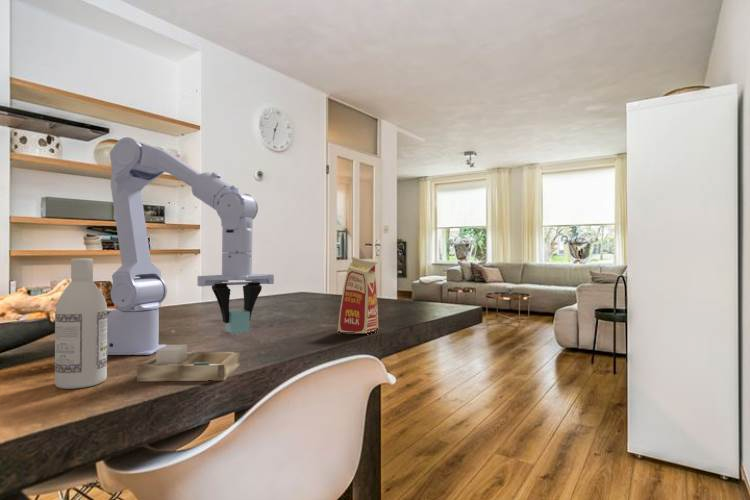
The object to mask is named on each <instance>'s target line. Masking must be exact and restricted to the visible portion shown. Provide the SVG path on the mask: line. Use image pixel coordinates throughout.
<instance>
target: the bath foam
mask: <svg viewBox="0 0 750 500" xmlns="http://www.w3.org/2000/svg"><path fill="white" fill-rule="evenodd" d="M70 262H71V263H70V282H69V283H68V284H67V286H66V288H65V289H64V290H63V292H62V293H61V295H60V296H59V299H58V300H57V303H56V306H55V313H54V314H55V315H54V385H55V386H56V388H59V389H61V390H62V389H63V390H77V389H84V388H89V387H94V386H97V385H99V384H101V383H103V382H105V381H106V380H107V377H108V373H107V372H108V370H107V369H108V355H107V316H108V305H107V301H106V298H105V295H104V294H103V292H102V291H101V289H100V288H99V287H98V286H97V284H96V283H95V281H94V280H93V278H94V258H83V257H82V258H81V257H80V258H71V261H70Z"/></svg>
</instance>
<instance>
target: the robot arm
mask: <svg viewBox="0 0 750 500" xmlns="http://www.w3.org/2000/svg"><path fill="white" fill-rule="evenodd" d="M109 156H110V163H111V171H112V172H111V178H110V189H111V190H110V191H111V197H112V204H113V211H114V219H115V225H116V232H117V240H118V247H119V252H120V254H119V255H120V261H121V266H120V267H119V268H118V269H117V270H116V271H115V272H114V273H113V274H112V275H111V278H112V285H111V290H110V299H111V301H112V303H113V305H115V306H114V307H116V309H112V310H111V311H109V313H107V356H131V355H133V356H141V355H142V356H143V355H146V356H148V355H153V354H154V353H156V350H158V349H160V348H162V347H164V346H166V345H167V344H163V343H162V344H159V339H160V337H159V335H160V333H159V331H160V330H159V328H160V327H159V325H160V324H159V323H160V321H159V319H160V318H159V317H160V316H159V315H160V314H159V313H160V311H159V310H160V309H159V308H161V307H162V303H163V302H164V301H165V300H166V297H167V294H168V288H167V284H166V282H165V280H164V279H163V277H162V271H161V269H160V268H159V267H157V265H155V264H154V263H153V262H152V258H151V252H150V244H149V238H148V231H147V223H146V217H145V210H144V203H143V196H142V191H143V189H144V188H145V187H146V186H148V185H150V184H151V183H152V182H154V181H155V180H156V179H158V178H159V177H160V176H162V175H163V174H165V173H166V174H169V175H171V176H173V177H174V178H175V179H177V180H179V181H181V182H183V183H184V184H186V185H188V186H189V187H191V193H192V195H193V196H194V197H195V198H197V199H198V200H199V201H201V202H203V203H204V204H206V205H207V206H209V207H210V208H212V209H214V211H216V214H217V216H218V217H219V218H220V220H221V227H222V229H221V230H222V231H221V236H222V237H221V239H222V242H221V245H222V246H221V247H222V248H221V251H222V253H221V274H216V275H215V274H213V275H212V274H211V275H209V274H208V275H197V276H196V277H197V278H196V279H197V280H196V281H197V283H196V285H197V286H198V287H207V286H208V287H210V286H211V290H212V292H213V294H214V295H215V299H216V300H217V303H218V306H219V308H220V312H221V317H222V322H223V323H224V324H225V323H229V310H230V298H231V296H230V295H231V292H232V291H231V288H229V286H239V285H240V286H241V285H242V290H243V291H242V292H243V302H244V303H243V309H245V310H247V311H249V312H250V320H251V319H252V318H251V317H252V314H253V310H254V307H255V304H256V301H257V299H258V297H259V295H260V293H261V292H262V288H263V287H262V285H274V283H275V282H274V281H275V279H274V277H275V276H274V275H275V274H273V273H272V274H271V273H270V274H269V273H268V274H266V273H265V274H264V273H263V274H262V273H261V274H259V273H257V274H253V220H254V219H255V218H256V217H257V214H258V211H259V205H258V202H257V201H256V199H255V198H254V197H253V196H252V195H251V194H249V193H242V192H241V193H240V192H239V187H238V186H236V185H234V184H233V185H230V184H228V183H227V182H225V180H222V179H221V177H222V176H221V175H220V174H218V172H217V173H216V172H213V171H212V172H209V171H208V172H206V171H205V172H202V173H200V172H199V171H198V170H196V169H195V168H193V167H192V166H190V165H189V164H188V163H186V162H185V161H184V160H183V159H181V158H179V157H178V156H176V155H175V154H174V153H172V152H171V151H168V150H166V149H164V148H163V147H160V146H154V145H151V144H148V143H146V142H145V143H144V142H142V141H139V140H136V139H134V138H132V137H127V136H126V137H122V138H120V139H119V140H118V141H116V143H115V144H114V146H113V147H112V149H110V151H109ZM229 281H232V282H229ZM233 281H234V282H233ZM235 281H236V282H235Z"/></svg>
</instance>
